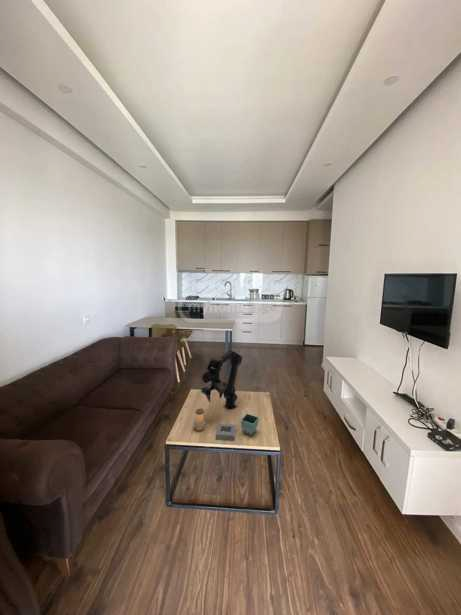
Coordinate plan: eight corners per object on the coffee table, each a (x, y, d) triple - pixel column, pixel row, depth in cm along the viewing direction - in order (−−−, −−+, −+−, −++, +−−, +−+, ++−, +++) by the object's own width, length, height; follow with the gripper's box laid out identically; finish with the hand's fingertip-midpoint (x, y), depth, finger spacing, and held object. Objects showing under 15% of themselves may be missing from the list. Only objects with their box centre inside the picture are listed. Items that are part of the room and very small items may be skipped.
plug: (204, 424, 165) (205, 407, 163) (205, 431, 158) (205, 413, 156) (193, 425, 163) (193, 408, 162) (193, 432, 156) (193, 414, 155)
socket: (218, 428, 161) (218, 423, 161) (235, 429, 160) (235, 424, 160) (215, 439, 150) (215, 434, 150) (234, 440, 150) (234, 435, 149)
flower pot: (258, 430, 160) (259, 417, 159) (253, 438, 152) (253, 424, 151) (246, 426, 164) (246, 413, 163) (240, 433, 156) (240, 420, 155)
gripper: (210, 385, 157) (210, 409, 159) (233, 378, 169) (233, 400, 171) (201, 379, 166) (200, 402, 168) (223, 373, 177) (223, 394, 179)
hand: (215, 399), depth 171 cm, fingers open, 9 cm apart
